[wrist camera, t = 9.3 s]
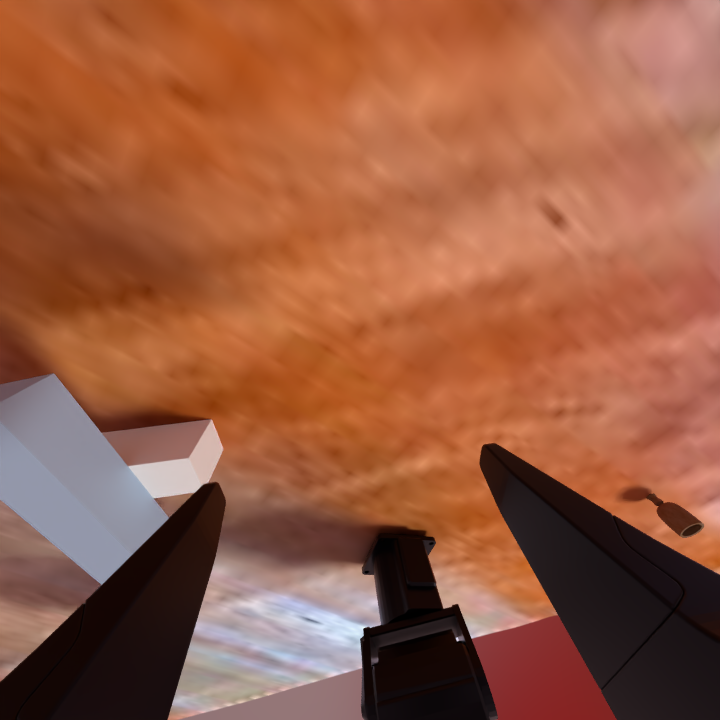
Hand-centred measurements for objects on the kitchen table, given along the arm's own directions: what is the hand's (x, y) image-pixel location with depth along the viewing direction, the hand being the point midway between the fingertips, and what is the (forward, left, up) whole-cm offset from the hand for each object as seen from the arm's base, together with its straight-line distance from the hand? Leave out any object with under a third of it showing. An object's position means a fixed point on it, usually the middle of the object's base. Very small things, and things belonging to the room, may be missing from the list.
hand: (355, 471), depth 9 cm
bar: (-11, +12, -7) cm, 18 cm away
